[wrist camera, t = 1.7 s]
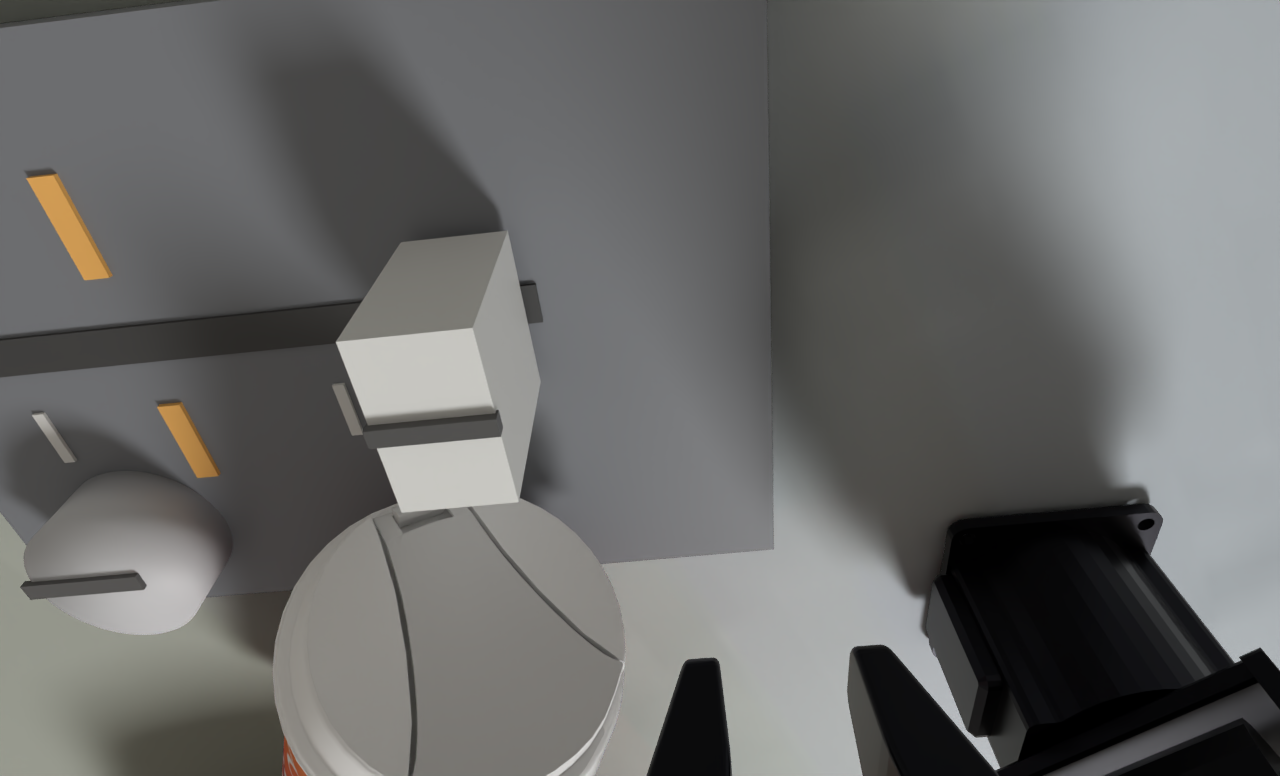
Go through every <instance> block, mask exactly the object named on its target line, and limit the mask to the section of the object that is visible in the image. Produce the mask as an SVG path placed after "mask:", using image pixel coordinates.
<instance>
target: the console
mask: <svg viewBox="0 0 1280 776" xmlns="http://www.w3.org/2000/svg"><path fill="white" fill-rule="evenodd" d="M500 231H508V234H509V239H510V243H511V248H512V253H513V257H514V262H515V266H516V271H517V276H518V280H519V285H520V289H521V294H522V299H523V303H524V308H525V312H526V317H527V322H528V326H529V331H530V335H531V340H532V345H533V349H534V354H535V358H536V363H537V368H538V372H539V377H540V381H541V383H540V388H539V394H538V399H537V405H536V410H535V416H534V421H533V427H532V432H531V438H530V443H529V449H528V454H527V460H526V465H525V471H524V476H523V482H522V487H521V493H520V498H521V499H523V500H526V501H528V502H530V503H532V504H534V505H536V506H538V507H540V508H542V509H544V510H545V511H547V512H548V513H550V514H552V515H553V516H555V517H556V518H558V519H559V520H561V521H562V522H563V523H564V524H565V525H566V526H568V527H569V528H570V529H571V530H572V531H574V532H575V533H576V534H577V535H578V536H579V537H580V539H581V540H582V541H583V542H584V543H585V544H586V545H587V546H588V547H589V548H590V550H591V551H592V553H593V554H594V555H595V557H596V558H597V560H598V561H599V563H600V564H606V563H618V562H630V561H642V560H653V559H665V558H677V557H689V556H701V555H712V554H724V553H736V552H748V551H759V550H771V549H774V523H773V441H772V360H771V278H770V196H769V115H768V33H767V0H184V1H176V2H168V3H160V4H152V5H144V6H136V7H128V8H120V9H113V10H105V11H97V12H89V13H81V14H73V15H65V16H57V17H49V18H41V19H33V20H26V21H18V22H10V23H2V24H0V512H1V514H2V515H3V516H4V517H5V519H6V520H7V521H8V522H9V524H10V525H11V526H12V528H13V529H14V530H15V531H16V533H17V534H18V535H19V536H20V538H21V539H22V540H23V542H24V543H25V544H26V545H27V546H26V549H25V552H24V566H25V569H26V572H27V575H28V577H29V578H30V580H31V581H25V582H24V583H23V584H22V586H21V587H20V588H21V589H22V590H23V591H24V592H25V594H26V595H27V596H28V597H29V598H30V600H33V599H44V598H46V599H47V600H48V601H49V602H50V603H52V604H53V605H55V606H56V607H57V608H59V609H60V610H62V611H63V612H65V613H67V614H68V615H70V616H72V617H74V618H76V619H78V620H80V621H83V622H85V623H87V624H90V625H93V626H95V627H98V628H102V629H105V630H109V631H113V632H118V633H125V634H135V635H152V634H160V633H165V632H169V631H172V630H175V629H178V628H180V627H182V626H183V625H185V624H186V623H188V622H189V621H190V620H191V619H192V618H193V617H194V616H195V614H196V613H197V611H198V609H199V608H200V606H201V604H202V603H203V601H204V599H205V598H206V597H217V596H229V595H241V594H253V593H264V592H276V591H288V590H293V589H294V586H295V585H296V583H297V582H298V580H299V579H300V577H301V576H302V574H303V573H304V571H305V570H306V568H307V567H308V565H309V564H310V562H311V561H312V560H313V559H314V558H315V557H316V556H317V555H318V554H319V553H320V552H321V551H322V549H323V548H324V547H325V546H326V545H327V544H328V543H329V542H330V541H332V540H333V539H334V538H335V537H337V536H338V535H339V534H340V533H342V532H343V531H344V530H345V529H347V528H348V527H349V526H351V525H353V524H354V523H356V522H358V521H359V520H361V519H363V518H365V517H366V516H368V515H370V514H372V513H374V512H377V511H379V510H382V509H384V508H387V507H389V506H392V505H394V504H398V502H397V499H396V497H395V494H394V492H393V489H392V487H391V484H390V481H389V479H388V476H387V474H386V471H385V468H384V466H383V463H382V461H381V458H380V455H379V453H378V450H377V449H369V448H368V446H367V443H366V441H365V438H364V436H363V433H362V431H363V429H364V427H365V425H366V423H367V422H366V419H365V417H364V414H363V411H362V409H361V406H360V404H359V401H358V398H357V396H356V393H355V391H354V388H353V385H352V383H351V380H350V378H349V375H348V372H347V370H346V367H345V365H344V362H343V360H342V357H341V354H340V352H339V349H338V347H337V344H336V341H337V339H338V338H339V336H340V335H341V333H342V332H343V330H344V329H345V327H346V325H347V324H348V322H349V321H350V319H351V318H352V316H353V315H354V313H355V312H356V310H357V309H358V307H359V306H360V304H361V302H362V301H363V299H364V298H365V296H366V295H367V293H368V292H369V290H370V289H371V287H372V286H373V284H374V283H375V281H376V280H377V278H378V276H379V275H380V273H381V272H382V270H383V269H384V267H385V266H386V264H387V263H388V261H389V260H390V258H391V257H392V255H393V254H394V252H395V250H396V249H397V247H398V246H399V244H400V243H401V242H407V241H417V240H426V239H435V238H444V237H454V236H463V235H472V234H481V233H491V232H500Z"/></svg>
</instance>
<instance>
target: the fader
mask: <svg viewBox="0 0 1280 776" xmlns="http://www.w3.org/2000/svg"><path fill="white" fill-rule="evenodd" d="M336 344H337V347H338V349H339V352H340V354H341V357H342V360H343V362H344V365H345V367H346V370H347V372H348V375H349V378H350V380H351V383H352V385H353V388H354V391H355V393H356V396H357V398H358V401H359V404H360V406H361V409H362V411H363V414H364V417H365V419H366V422H367V423H366V425H365V427H364V429H363V431H362V433H363V436H364V438H365V441H366V443H367V446H368V448H369V449H377V450H378V453H379V455H380V458H381V461H382V463H383V466H384V468H385V471H386V474H387V476H388V479H389V481H390V484H391V487H392V489H393V492H394V494H395V497H396V499H397V502H398V505H399V507H400V510H401V512H402V513H403V512H414V511H426V510H437V509H448V508H459V507H470V506H481V505H493V504H504V503H515V502H519V498H520V493H521V487H522V482H523V476H524V471H525V465H526V460H527V454H528V449H529V443H530V438H531V432H532V427H533V421H534V416H535V410H536V405H537V399H538V394H539V388H540V383H541V381H540V377H539V372H538V368H537V363H536V358H535V354H534V349H533V345H532V340H531V335H530V331H529V326H528V322H527V317H526V312H525V308H524V303H523V299H522V294H521V289H520V285H519V280H518V276H517V271H516V266H515V262H514V257H513V253H512V248H511V243H510V239H509V234H508V231H500V232H491V233H481V234H472V235H463V236H454V237H444V238H435V239H426V240H417V241H407V242H401V243H400V244H399V246H398V247H397V249H396V250H395V252H394V254H393V255H392V257H391V258H390V260H389V261H388V263H387V264H386V266H385V267H384V269H383V270H382V272H381V273H380V275H379V276H378V278H377V280H376V281H375V283H374V284H373V286H372V287H371V289H370V290H369V292H368V293H367V295H366V296H365V298H364V299H363V301H362V302H361V304H360V306H359V307H358V309H357V310H356V312H355V313H354V315H353V316H352V318H351V319H350V321H349V322H348V324H347V325H346V327H345V329H344V330H343V332H342V333H341V335H340V336H339V338H338V339H337V341H336Z"/></svg>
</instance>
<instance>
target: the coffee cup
mask: <svg viewBox="0 0 1280 776" xmlns="http://www.w3.org/2000/svg"><path fill="white" fill-rule="evenodd" d="M625 657H626V651H625V631H624V626H623V621H622V615H621V610H620V607H619V604H618V601H617V598H616V595H615V592H614V589H613V587H612V585H611V583H610V581H609V579H608V577H607V575H606V573H605V571H604V569H603V567H602V566H601V564H600V563H599V561H598V560H597V558H596V557H595V555H594V554H593V553H592V551H591V550H590V548H589V547H588V546H587V545H586V544H585V543H584V542H583V541H582V540H581V539H580V537H579V536H578V535H577V534H576V533H575V532H574V531H572V530H571V529H570V528H569V527H568V526H566V525H565V524H564V523H563V522H562V521H561V520H559V519H558V518H556V517H555V516H553V515H552V514H550V513H548V512H547V511H545V510H544V509H542V508H540V507H538V506H536V505H534V504H532V503H530V502H528V501H526V500H523V499H521V498H519V502H515V503H504V504H493V505H481V506H470V507H459V508H448V509H437V510H426V511H414V512H403V513H402V512H401V510H400V507H399V505H398V504H394V505H392V506H389V507H387V508H384V509H382V510H379V511H377V512H374V513H372V514H370V515H368V516H366V517H365V518H363V519H361V520H359V521H358V522H356V523H354V524H353V525H351V526H349V527H348V528H347V529H345V530H344V531H343V532H342V533H340V534H339V535H338V536H337V537H335V538H334V539H333V540H332V541H330V542H329V543H328V544H327V545H326V546H325V547H324V548H323V549H322V551H321V552H320V553H319V554H318V555H317V556H316V557H315V558H314V559H313V560H312V561H311V562H310V564H309V565H308V567H307V568H306V570H305V571H304V573H303V574H302V576H301V577H300V579H299V580H298V582H297V583H296V585H295V586H294V589H293V591H292V593H291V595H290V597H289V600H288V602H287V604H286V606H285V608H284V611H283V613H282V617H281V621H280V624H279V628H278V632H277V636H276V640H275V647H274V658H273V669H272V675H273V686H274V698H275V705H276V709H277V712H278V716H279V720H280V723H281V727H282V731H283V734H284V748H283V765H282V776H596V773H597V770H598V768H599V765H600V763H601V760H602V757H603V755H604V752H605V750H606V747H607V745H608V743H609V740H610V738H611V736H612V733H613V731H614V729H615V726H616V722H617V718H618V714H619V710H620V706H621V702H622V695H623V685H624V667H625Z"/></svg>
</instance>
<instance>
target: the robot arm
mask: <svg viewBox="0 0 1280 776" xmlns="http://www.w3.org/2000/svg"><path fill="white" fill-rule="evenodd" d="M1162 523H1163V518H1162V516H1161V515H1160V514H1159V513H1158V511H1157V510H1156V509H1155V508H1154V507H1153V506H1151V505H1149V504H1137V505H1125V506H1113V507H1102V508H1090V509H1078V510H1067V511H1055V512H1043V513H1032V514H1020V515H1008V516H997V517H985V518H973V519H964V520H959V521H957V522H955V523H953V524H952V525H951V526H950V527H949V529H948V531H947V535H946V541H945V547H944V553H943V559H942V565H941V571H940V575H938V576H937V577H936V579H935V580H934V581H933V585H932V591H931V598H930V604H929V610H928V616H927V623H926V630H927V633H928V635H929V645H930V647H931V650H932V652H933V654H934V655H935V656H936V657H937V658H938V660H939V663H940V665H941V668H942V670H943V673H944V675H945V678H946V680H947V683H948V685H949V688H950V690H951V693H952V695H953V698H954V700H955V703H956V705H957V708H958V710H959V713H960V715H961V718H962V720H963V722H964V725H965V727H966V730H967V731H968V732H970V733H971V734H972V735H973V736H974V737H987V738H988V740H989V743H990V745H991V747H992V750H993V752H994V754H995V757H996V759H997V761H998V764H999V766H1000V769H998V770H994V769H993V768H992V766H991V765H990V764H989V763H988V762H987V761H986V760H985V758H984V757H983V756H982V755H981V754H980V753H979V751H978V750H977V749H976V748H975V747H974V746H973V744H972V743H971V742H970V741H969V740H968V739H967V737H966V736H965V735H964V734H963V733H962V732H961V730H960V729H959V728H958V727H957V726H956V725H955V723H954V722H953V721H952V720H951V719H950V718H949V716H948V715H947V714H946V713H945V712H944V711H943V709H942V708H941V707H940V706H939V705H938V704H937V702H936V701H935V700H934V699H933V698H932V697H931V695H930V694H929V693H928V692H927V691H926V690H925V689H924V687H923V686H922V685H921V684H920V683H919V682H918V680H917V679H916V678H915V677H914V676H913V675H912V673H911V672H910V671H909V670H908V669H907V668H906V666H905V665H904V664H903V663H902V662H901V661H900V659H899V658H898V657H897V656H896V655H895V654H894V653H893V651H892V650H891V649H889V648H888V647H887V646H884V645H869V646H857V647H854V648H853V649H852V650H851V653H850V660H849V673H848V686H847V693H848V703H849V709H850V714H851V719H852V724H853V729H854V734H855V739H856V744H857V749H858V754H859V759H860V764H861V768H862V773H863V776H1280V670H1279V669H1278V668H1277V667H1276V665H1275V664H1274V663H1273V662H1272V661H1271V660H1270V658H1269V657H1268V656H1267V655H1266V654H1265V652H1264V651H1263V650H1262V649H1261V648H1258V649H1256V650H1254V651H1251V652H1249V653H1247V654H1245V655H1242V656H1240V657H1239V658H1240V659H1241V661H1239V662H1237V663H1234V661H1233V660H1232V659H1231V657H1230V656H1229V655H1228V654H1227V652H1226V651H1225V650H1224V649H1223V647H1222V646H1221V645H1220V643H1219V642H1218V641H1217V640H1216V638H1215V637H1214V636H1213V635H1212V633H1211V632H1210V631H1209V629H1208V628H1207V627H1206V626H1205V624H1204V623H1203V622H1202V621H1201V619H1200V618H1199V617H1198V615H1197V614H1196V613H1195V612H1194V610H1193V609H1192V608H1191V607H1190V605H1189V604H1188V603H1187V601H1186V600H1185V599H1184V598H1183V596H1182V595H1181V594H1180V593H1179V591H1178V590H1177V589H1176V587H1175V586H1174V585H1173V584H1172V582H1171V581H1170V580H1169V578H1168V577H1167V576H1166V575H1165V573H1164V572H1163V571H1162V570H1161V568H1160V567H1159V566H1158V564H1157V563H1156V562H1155V561H1154V559H1153V558H1152V557H1151V556H1150V554H1151V552H1152V549H1153V547H1154V544H1155V541H1156V539H1157V536H1158V534H1159V531H1160V528H1161V526H1162ZM966 534H967V535H966ZM963 535H965V536H963ZM647 776H732V769H731V756H730V745H729V737H728V729H727V720H726V712H725V704H724V696H723V688H722V679H721V671H720V664H719V661H718V660H717V659H716V658H700V659H689V660H687V661H685V663H684V664H683V666H682V669H681V672H680V675H679V678H678V681H677V684H676V687H675V690H674V693H673V696H672V699H671V702H670V706H669V709H668V712H667V715H666V718H665V721H664V724H663V727H662V730H661V733H660V736H659V739H658V742H657V745H656V748H655V752H654V755H653V758H652V761H651V764H650V767H649V770H648V773H647Z"/></svg>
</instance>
